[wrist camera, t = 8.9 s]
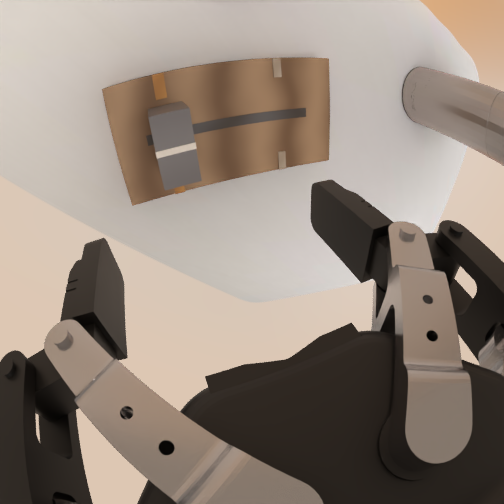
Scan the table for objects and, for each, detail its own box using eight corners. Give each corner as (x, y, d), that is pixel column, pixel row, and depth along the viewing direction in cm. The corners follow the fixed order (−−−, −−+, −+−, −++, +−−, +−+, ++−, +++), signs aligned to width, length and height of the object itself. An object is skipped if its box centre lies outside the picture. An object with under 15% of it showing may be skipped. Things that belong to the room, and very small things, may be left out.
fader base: (315, 57, 26) (329, 58, 23) (317, 153, 33) (329, 160, 31) (105, 87, 21) (101, 89, 19) (133, 195, 28) (132, 206, 26)
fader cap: (181, 101, 22) (190, 107, 18) (192, 161, 26) (202, 181, 22) (147, 109, 21) (148, 117, 17) (160, 169, 25) (164, 191, 21)
